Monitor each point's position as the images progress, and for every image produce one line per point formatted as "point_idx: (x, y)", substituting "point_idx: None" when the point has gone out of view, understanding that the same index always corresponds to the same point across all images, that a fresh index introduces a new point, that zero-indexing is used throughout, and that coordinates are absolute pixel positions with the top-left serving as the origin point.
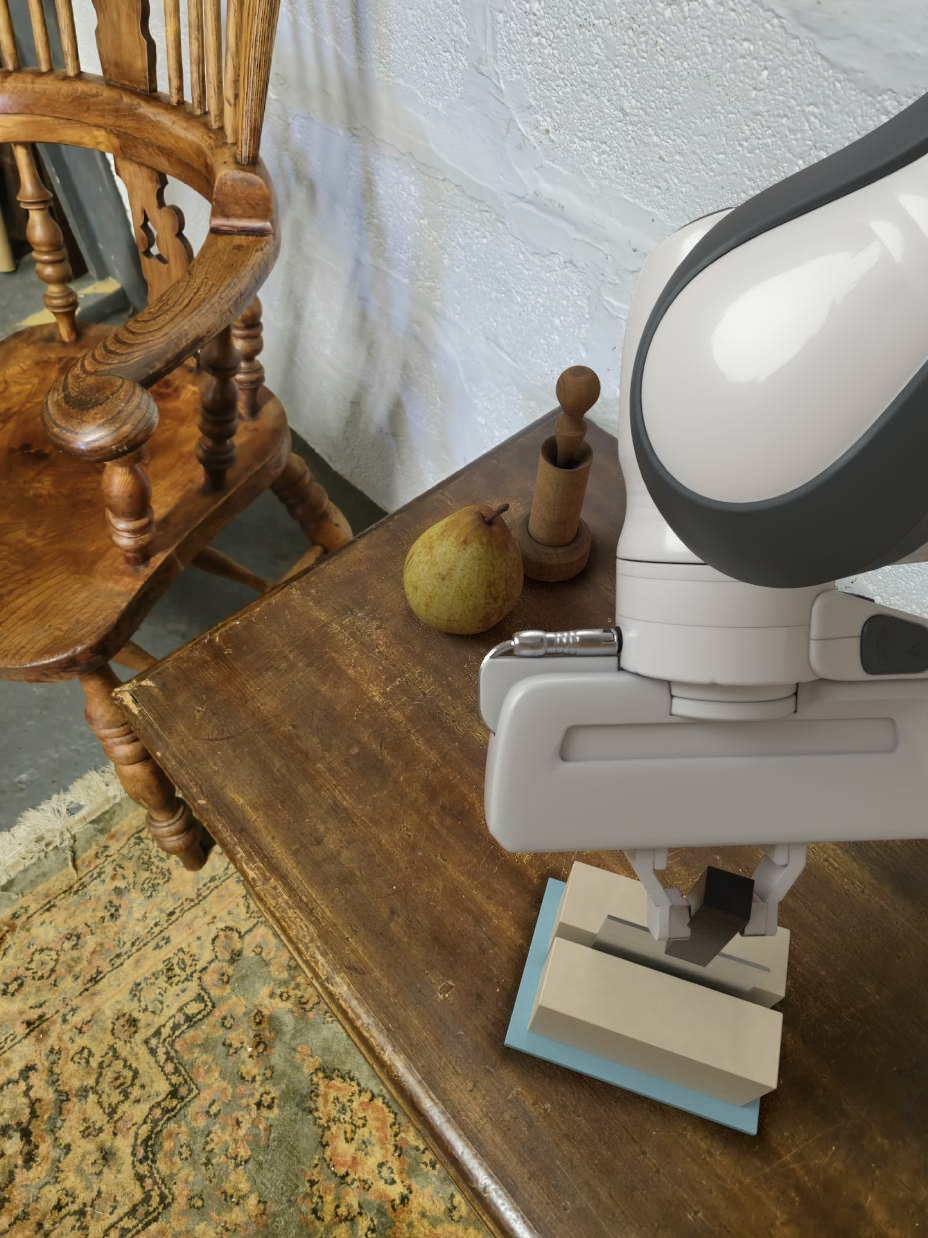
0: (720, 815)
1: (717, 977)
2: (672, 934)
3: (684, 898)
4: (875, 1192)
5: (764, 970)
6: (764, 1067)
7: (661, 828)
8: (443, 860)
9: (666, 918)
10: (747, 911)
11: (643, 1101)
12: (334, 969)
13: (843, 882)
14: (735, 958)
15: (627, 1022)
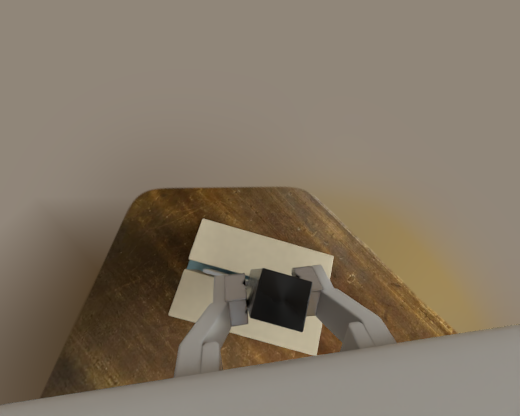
0: (327, 411)
1: None
2: (311, 268)
3: None
4: (152, 200)
5: (207, 270)
6: (207, 228)
7: (404, 374)
8: None
9: (322, 279)
10: (264, 277)
11: (254, 232)
12: (405, 284)
13: (108, 366)
14: None
15: (283, 248)
